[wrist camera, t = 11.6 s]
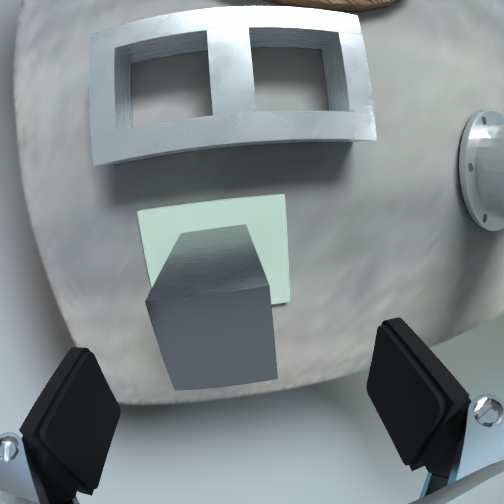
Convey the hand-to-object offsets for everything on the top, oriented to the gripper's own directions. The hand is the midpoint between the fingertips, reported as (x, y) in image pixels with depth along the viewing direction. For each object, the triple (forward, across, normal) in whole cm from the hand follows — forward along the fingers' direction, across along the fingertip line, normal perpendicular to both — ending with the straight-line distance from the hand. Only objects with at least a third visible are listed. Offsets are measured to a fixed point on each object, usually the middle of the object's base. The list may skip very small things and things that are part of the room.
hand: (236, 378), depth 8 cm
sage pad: (+13, +1, 0) cm, 13 cm away
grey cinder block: (+13, -1, -12) cm, 17 cm away
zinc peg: (+12, +1, 0) cm, 12 cm away
